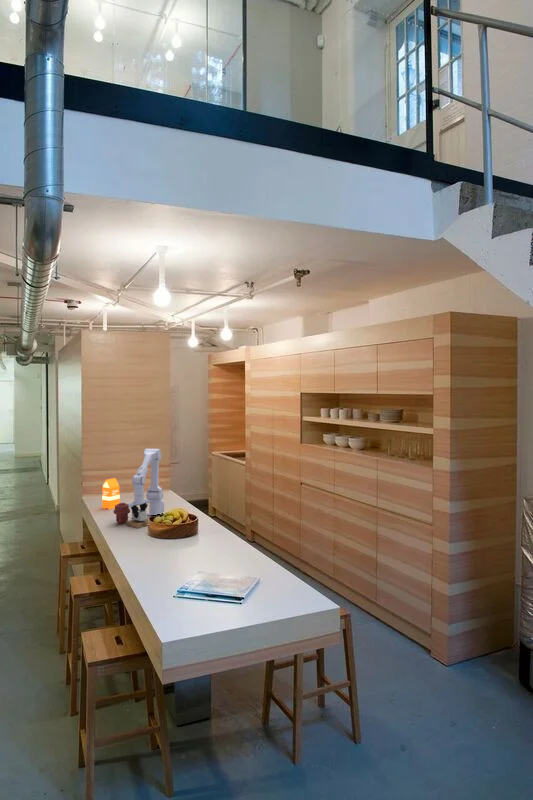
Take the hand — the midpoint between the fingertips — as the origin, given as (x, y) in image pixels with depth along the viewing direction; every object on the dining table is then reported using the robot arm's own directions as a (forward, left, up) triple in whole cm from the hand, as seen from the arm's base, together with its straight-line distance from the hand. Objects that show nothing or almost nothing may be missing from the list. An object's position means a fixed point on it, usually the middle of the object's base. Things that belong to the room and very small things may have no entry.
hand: (139, 516), depth 320 cm
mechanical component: (+4, -11, -5) cm, 13 cm away
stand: (0, 0, -5) cm, 5 cm away
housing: (0, 0, -2) cm, 2 cm away
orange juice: (-16, -50, -5) cm, 53 cm away
